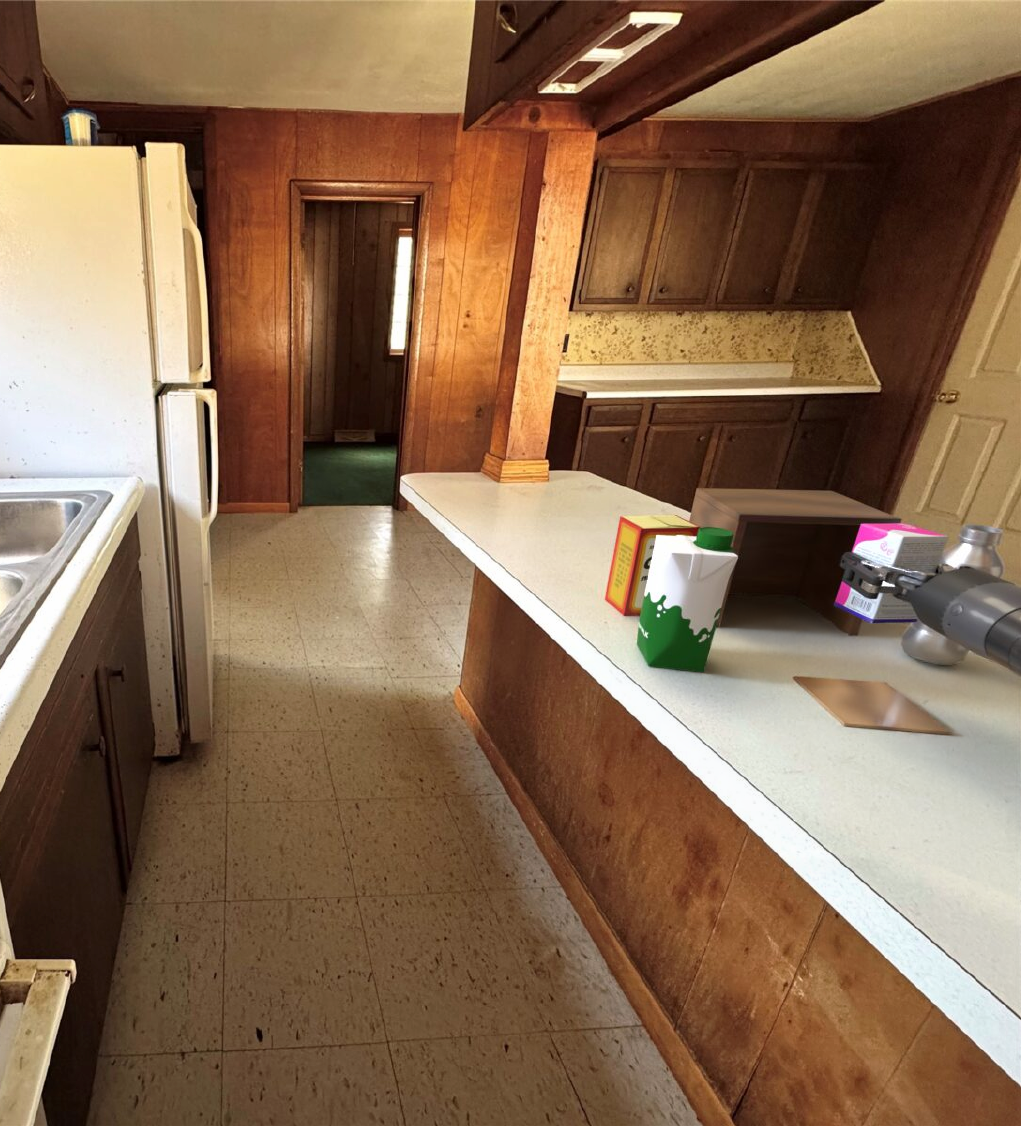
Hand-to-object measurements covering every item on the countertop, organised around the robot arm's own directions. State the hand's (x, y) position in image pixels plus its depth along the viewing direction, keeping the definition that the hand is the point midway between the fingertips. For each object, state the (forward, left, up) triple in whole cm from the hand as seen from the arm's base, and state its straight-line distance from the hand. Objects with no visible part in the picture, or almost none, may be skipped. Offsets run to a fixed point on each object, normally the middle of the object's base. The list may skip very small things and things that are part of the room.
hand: (877, 560), depth 79 cm
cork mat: (0, +6, -18) cm, 19 cm away
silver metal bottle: (-16, -8, -18) cm, 25 cm away
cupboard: (0, -22, -18) cm, 28 cm away
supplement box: (0, +2, -7) cm, 7 cm away
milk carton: (+20, -3, -18) cm, 27 cm away
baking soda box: (+18, -21, -18) cm, 33 cm away
